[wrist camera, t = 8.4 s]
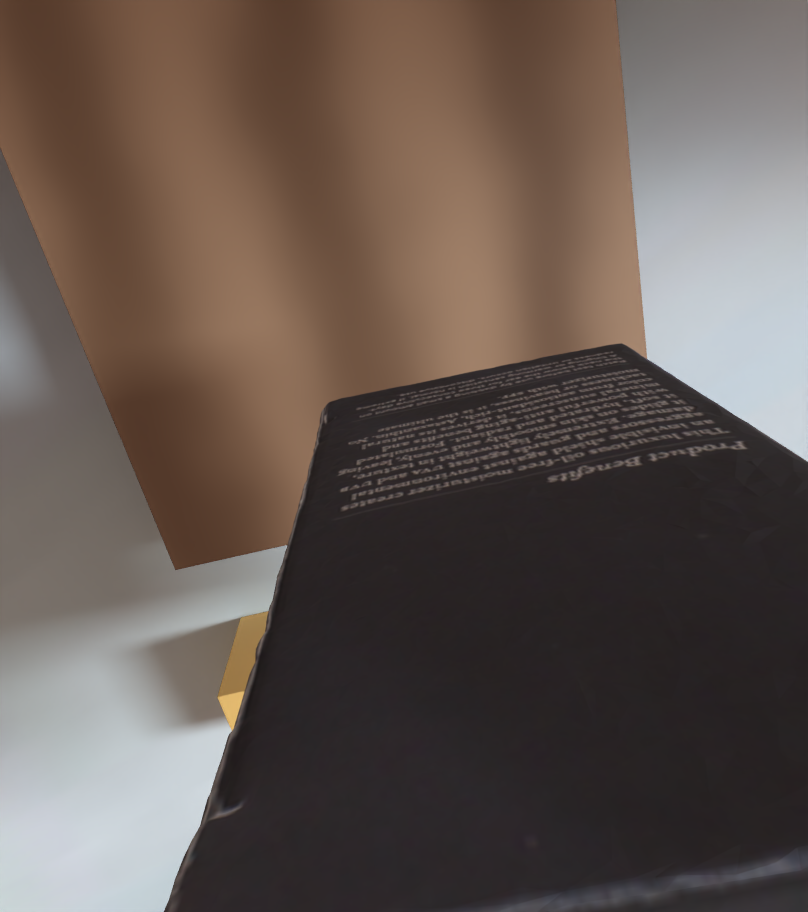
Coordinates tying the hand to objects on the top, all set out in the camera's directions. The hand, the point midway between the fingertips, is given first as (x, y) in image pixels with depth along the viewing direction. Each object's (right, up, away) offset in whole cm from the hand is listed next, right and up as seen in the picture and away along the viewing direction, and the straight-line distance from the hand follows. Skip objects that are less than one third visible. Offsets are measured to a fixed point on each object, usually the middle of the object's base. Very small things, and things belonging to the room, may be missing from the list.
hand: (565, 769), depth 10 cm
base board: (-4, +12, +13) cm, 18 cm away
